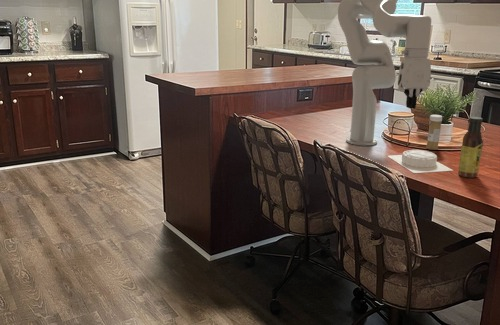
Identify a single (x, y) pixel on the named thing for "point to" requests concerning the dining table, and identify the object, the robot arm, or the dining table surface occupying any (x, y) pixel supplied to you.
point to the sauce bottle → (471, 149)
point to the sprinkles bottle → (434, 132)
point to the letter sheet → (436, 168)
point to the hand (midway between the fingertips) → (410, 107)
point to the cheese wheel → (419, 158)
